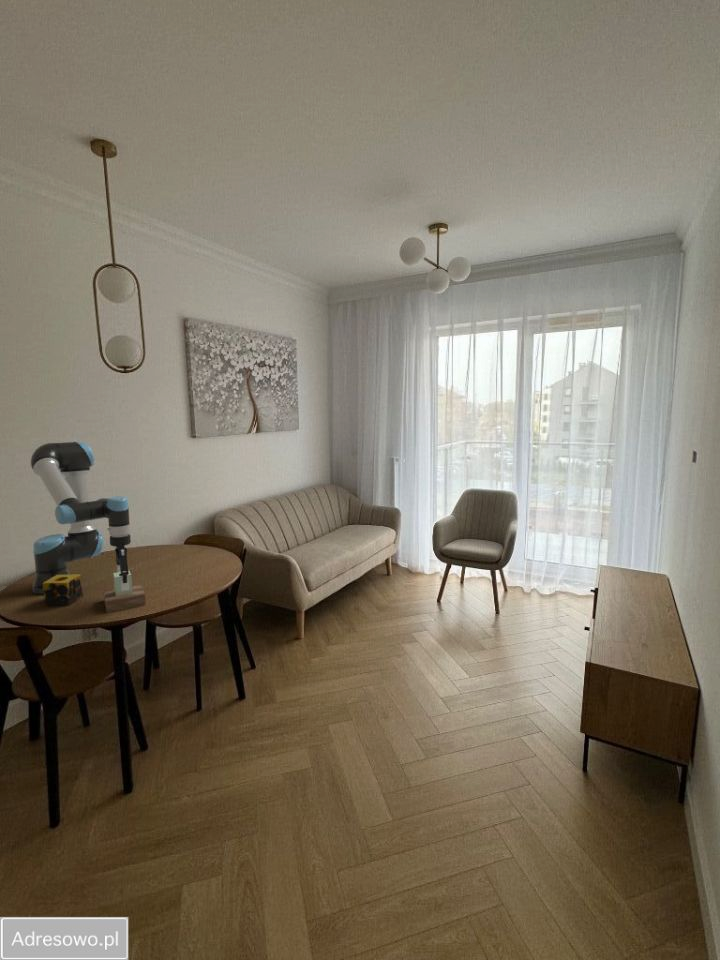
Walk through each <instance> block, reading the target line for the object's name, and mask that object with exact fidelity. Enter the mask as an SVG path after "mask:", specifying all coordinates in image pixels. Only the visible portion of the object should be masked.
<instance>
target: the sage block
mask: <svg viewBox="0 0 720 960" xmlns="http://www.w3.org/2000/svg"><path fill="white" fill-rule="evenodd" d="M124 572H126V571H124ZM128 572H129V574H128V579H129V590H125V591H122V590H121V576H119V574H121V572H113V573H112V574H113V575H112V576H113V588H114V590H115V594H116V596H120V595H126V594H131V593H132V585H133V581H132V573H131V571H130V570H128Z"/></svg>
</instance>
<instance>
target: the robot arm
mask: <svg viewBox="0 0 720 960" xmlns="http://www.w3.org/2000/svg"><path fill="white" fill-rule="evenodd" d="M94 464H95V456H94V452H93V450H92V448H91V447H90V445H89V444H88V443H87V442H83V441H73V442H71V441H70V442H68V441H67V442H49V443H48V442H47V443H45V444H42V445H40V446H38V448H36V449H35V451H33V453H32V455H31V457H30V466H31V469H32V471H33V472H34V474H35V475H37V476H39V477H40V480H41V481H42V482H43V484H44V486H45V487H46V489H47V492H48V493H49V494H50V496H51V497H52V499H53V500H54V502H55V504H56V507H55V509H54V515H55V519H56V521H57V523H58V524H59V525H67V524H68V525H69V524H70V528H69V530H68V531H67V536H65V535H64V534H62V533H61V534H59V533H56V534H50V535H46V536H44V537H40V538H38V539H36V541H34V543H33V557H34V567H35V577H34V580H33V583H32V592H33V594H37V595H44V590H43V582H45V581H47V580H49V579H51V578H52V577H54V576H56V575H71V574H70V571H69V570H68V565H67V564H68V563H71V562H74V561H75V562H76V561H79V560H84V559H91V558H92V557H97V556H98V555H100V554H101V553H102V551H103V547H104V538H103V534H102V532H101V531H100V530H97V527H96V526H94V525H93V520H99V519H104V518H105V519H106V518H107V519H108V522H107V523H108V528H107V531H109V533H108V534H109V545H110V546H111V547H115V548H114V552H115V562H116V570H117V572H121V574H119V576H121V590H122V591H125V590H129V579H128V574H129V572H128V571H129V566H128V549H127V547H126V546H128V545H130V544H131V542H132V541H131V540H132V539H131V524H130V511H129V510H130V508H129V506H130V505H129V501H128V498H127V497H125V496H111V497H109V498H105V497H102V498H101V497H100V498H98V499H97V500H92V501H90V492H89V490H90V489H89V483H88V473H89V472H90V471H91V467H93V466H94ZM124 571H126V572H124ZM117 572H116V573H117Z"/></svg>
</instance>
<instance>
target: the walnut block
mask: <svg viewBox="0 0 720 960" xmlns="http://www.w3.org/2000/svg"><path fill="white" fill-rule="evenodd" d="M102 591H103V601H104V606H105V611H106V613H111V611H112V612H115V611H114V610H117V611H121V610H120V609H122V610H126V609H125V608H127V609H131V608H130V607H132V608H137V607H141V606H140V605H142V606H146V593H145V591H144V590H143V587H142V585H141V583H137V584H136V583H135V584H132V593H131V594H126V595H120V596H116V594H115V590H114V587H113V588H107V589H103V590H102ZM136 606H137V607H136Z"/></svg>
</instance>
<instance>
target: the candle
mask: <svg viewBox="0 0 720 960" xmlns="http://www.w3.org/2000/svg"><path fill="white" fill-rule="evenodd" d="M81 577H82V576H81V574H80V573H78V574H76V573H75V574H74V573H73V574H70V575H56V576H54V577H52V578H51V579H49V580H47V581H45V582H43V590H44V594H43V595H44V599H43V600H44V605H45V606H49V605H50V606H53V605H54V606H71V605H72V604H74V603H75V602H77V601H78V600H79V599H80V597H81V598H82V597H84V592H83V587H82V584H81V580H82V578H81Z"/></svg>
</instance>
